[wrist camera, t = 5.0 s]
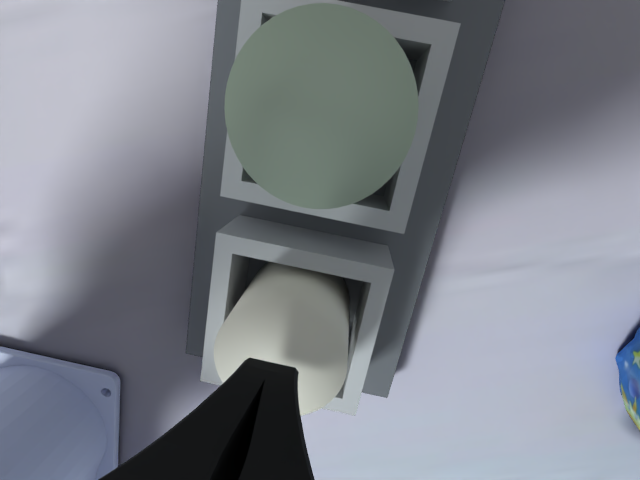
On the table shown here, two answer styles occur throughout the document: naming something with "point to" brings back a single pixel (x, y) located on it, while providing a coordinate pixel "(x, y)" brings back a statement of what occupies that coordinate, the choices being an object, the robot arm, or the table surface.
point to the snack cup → (630, 377)
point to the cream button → (291, 330)
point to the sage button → (321, 106)
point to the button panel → (352, 220)
